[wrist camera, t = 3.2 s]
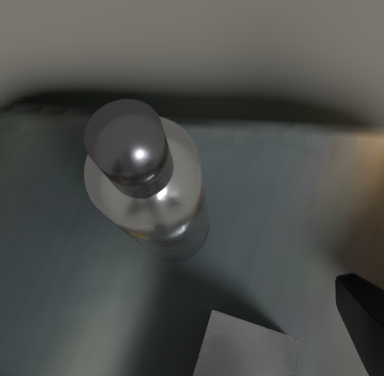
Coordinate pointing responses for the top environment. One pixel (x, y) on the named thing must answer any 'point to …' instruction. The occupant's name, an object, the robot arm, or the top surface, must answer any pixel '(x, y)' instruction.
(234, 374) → the grey rectangular block
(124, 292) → the top surface
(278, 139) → the top surface
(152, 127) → the grey cylindrical bottle
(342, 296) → the robot arm
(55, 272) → the top surface
